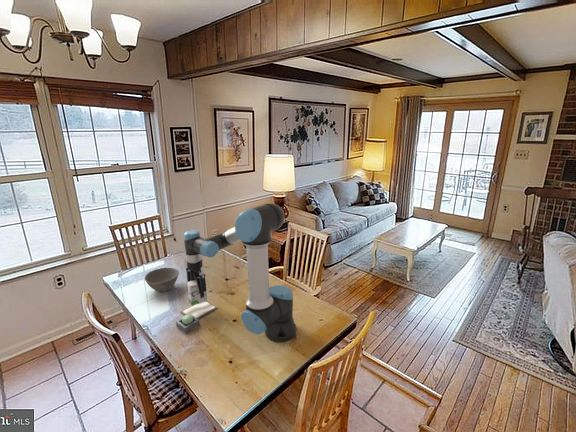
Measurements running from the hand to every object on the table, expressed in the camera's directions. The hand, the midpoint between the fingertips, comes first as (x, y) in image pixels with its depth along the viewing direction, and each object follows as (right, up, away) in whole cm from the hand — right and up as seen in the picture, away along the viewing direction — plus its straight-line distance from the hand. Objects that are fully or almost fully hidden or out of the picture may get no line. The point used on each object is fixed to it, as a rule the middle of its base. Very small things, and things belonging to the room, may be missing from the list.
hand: (198, 299), depth 158 cm
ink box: (0, -1, 0) cm, 1 cm away
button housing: (-2, -10, -10) cm, 14 cm away
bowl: (-27, 0, +22) cm, 35 cm away
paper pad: (0, -6, +2) cm, 7 cm away
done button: (-2, -8, -11) cm, 14 cm away
